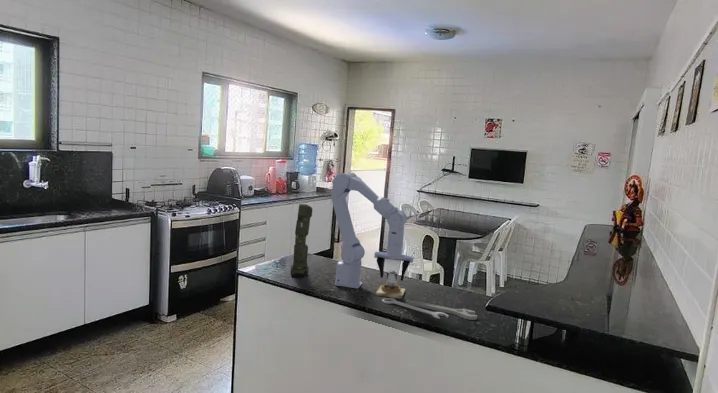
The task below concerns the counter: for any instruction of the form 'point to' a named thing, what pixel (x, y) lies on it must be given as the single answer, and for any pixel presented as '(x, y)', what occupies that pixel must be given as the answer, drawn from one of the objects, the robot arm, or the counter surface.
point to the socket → (390, 292)
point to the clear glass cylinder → (391, 280)
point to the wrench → (415, 308)
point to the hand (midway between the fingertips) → (391, 278)
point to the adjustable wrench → (445, 309)
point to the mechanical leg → (301, 242)
